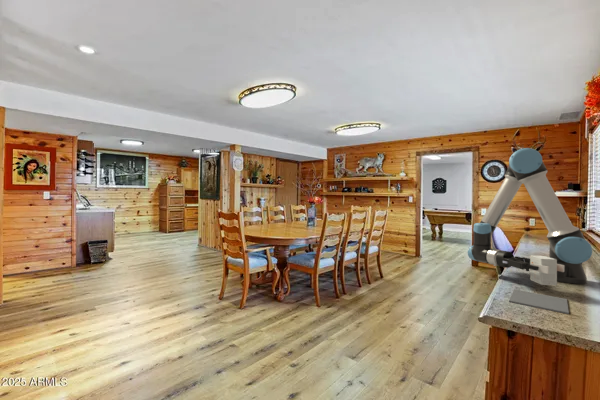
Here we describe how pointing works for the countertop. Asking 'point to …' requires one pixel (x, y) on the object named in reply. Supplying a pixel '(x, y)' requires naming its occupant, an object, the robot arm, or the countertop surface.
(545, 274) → the small box
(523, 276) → the countertop surface
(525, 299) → the slate mat
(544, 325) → the countertop surface
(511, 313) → the countertop surface
